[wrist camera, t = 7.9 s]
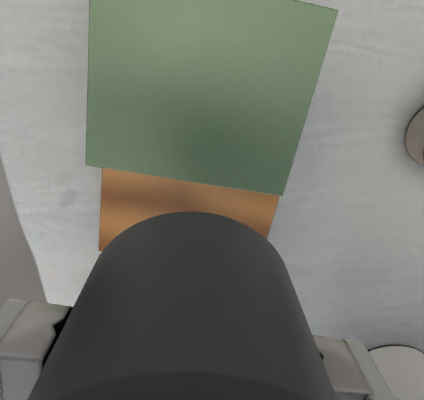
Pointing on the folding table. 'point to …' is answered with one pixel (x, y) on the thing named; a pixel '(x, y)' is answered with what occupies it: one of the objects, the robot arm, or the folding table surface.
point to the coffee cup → (416, 138)
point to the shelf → (203, 87)
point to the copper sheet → (175, 202)
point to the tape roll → (186, 320)
